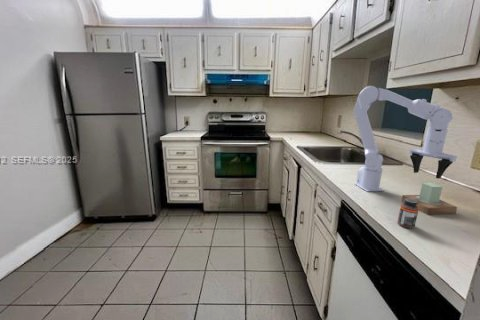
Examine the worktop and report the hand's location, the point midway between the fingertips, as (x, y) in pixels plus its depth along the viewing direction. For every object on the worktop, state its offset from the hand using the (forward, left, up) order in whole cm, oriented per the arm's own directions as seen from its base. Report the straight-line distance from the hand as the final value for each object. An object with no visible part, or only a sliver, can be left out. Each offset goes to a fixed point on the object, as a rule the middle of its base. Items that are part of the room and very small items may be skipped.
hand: (426, 175), depth 90 cm
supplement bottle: (+19, -24, -10) cm, 32 cm away
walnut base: (+8, -5, -10) cm, 13 cm away
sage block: (+8, -5, -7) cm, 12 cm away
